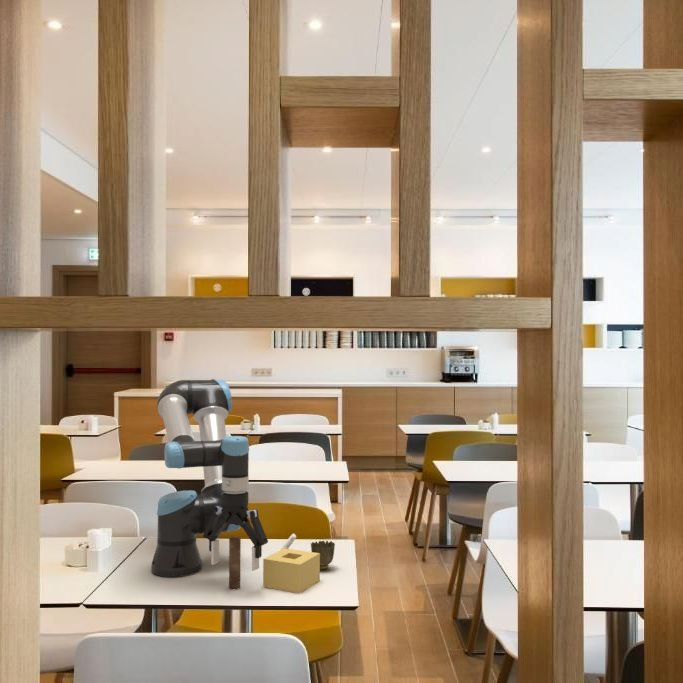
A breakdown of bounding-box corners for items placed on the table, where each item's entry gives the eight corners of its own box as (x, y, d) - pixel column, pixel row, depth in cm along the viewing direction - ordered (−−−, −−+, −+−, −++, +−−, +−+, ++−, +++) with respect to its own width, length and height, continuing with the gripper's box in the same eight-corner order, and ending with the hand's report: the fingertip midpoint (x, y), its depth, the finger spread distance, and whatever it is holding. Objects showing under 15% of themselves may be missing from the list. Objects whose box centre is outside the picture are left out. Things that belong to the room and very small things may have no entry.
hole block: (263, 586, 207) (263, 558, 207) (283, 574, 218) (284, 548, 218) (300, 593, 202) (300, 564, 202) (319, 580, 212) (319, 553, 212)
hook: (311, 552, 224) (292, 540, 222) (288, 581, 225) (269, 570, 224) (309, 540, 231) (291, 529, 230) (287, 569, 232) (269, 558, 231)
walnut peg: (226, 588, 205) (227, 539, 205) (233, 585, 208) (233, 536, 208) (236, 590, 204) (236, 540, 204) (242, 586, 207) (242, 537, 207)
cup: (310, 565, 227) (310, 540, 227) (333, 565, 227) (334, 539, 227) (311, 573, 219) (311, 546, 219) (335, 572, 220) (335, 546, 220)
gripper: (191, 489, 208) (190, 564, 208) (266, 497, 197) (266, 575, 197) (206, 485, 215) (206, 557, 214) (279, 492, 204) (279, 568, 204)
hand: (234, 566), depth 206 cm, fingers open, 13 cm apart
